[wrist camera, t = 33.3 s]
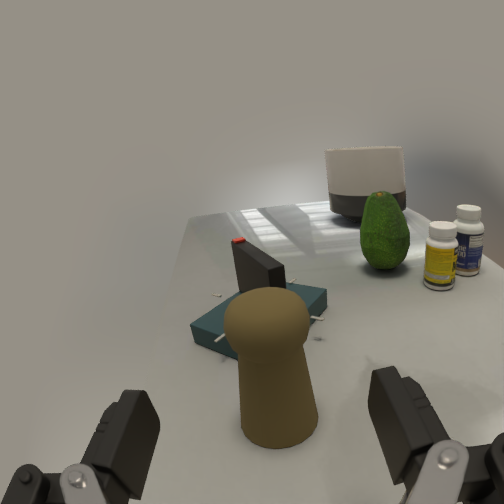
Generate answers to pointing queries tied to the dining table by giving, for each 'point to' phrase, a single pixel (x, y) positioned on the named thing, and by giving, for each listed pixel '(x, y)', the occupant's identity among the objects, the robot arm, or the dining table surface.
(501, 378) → the dining table surface
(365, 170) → the planter
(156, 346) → the dining table surface
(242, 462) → the dining table surface
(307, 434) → the cork
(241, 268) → the red-tipped black panel
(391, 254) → the avocado
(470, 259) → the pill bottle
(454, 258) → the supplement bottle
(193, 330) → the teal base plate
